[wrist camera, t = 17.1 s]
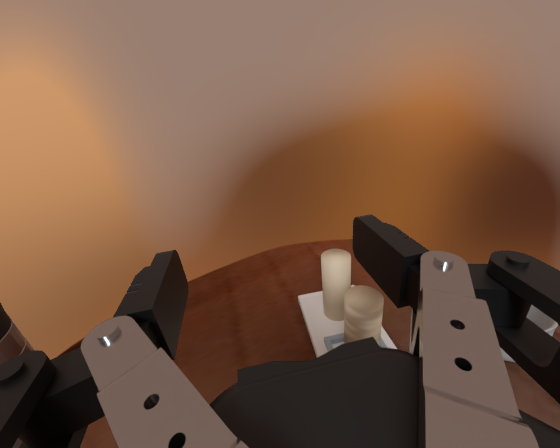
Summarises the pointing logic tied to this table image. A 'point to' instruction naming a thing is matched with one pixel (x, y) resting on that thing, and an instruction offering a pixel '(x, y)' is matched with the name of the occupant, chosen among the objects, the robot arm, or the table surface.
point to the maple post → (362, 313)
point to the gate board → (323, 323)
